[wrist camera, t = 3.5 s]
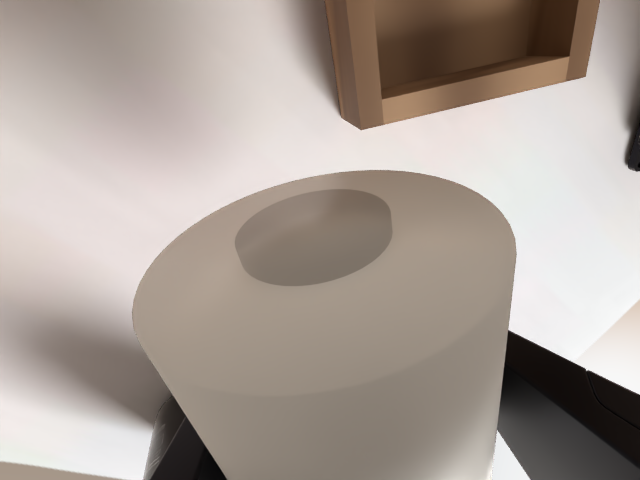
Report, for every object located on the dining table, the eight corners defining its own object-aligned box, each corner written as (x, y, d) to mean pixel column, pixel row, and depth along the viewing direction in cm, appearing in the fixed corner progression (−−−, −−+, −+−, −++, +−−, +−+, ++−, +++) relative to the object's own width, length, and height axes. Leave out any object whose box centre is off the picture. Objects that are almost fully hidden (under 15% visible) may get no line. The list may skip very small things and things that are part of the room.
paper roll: (166, 200, 8) (31, 460, 3) (407, 139, 9) (658, 272, 3) (272, 433, 13) (291, 687, 8) (423, 386, 13) (537, 597, 8)
